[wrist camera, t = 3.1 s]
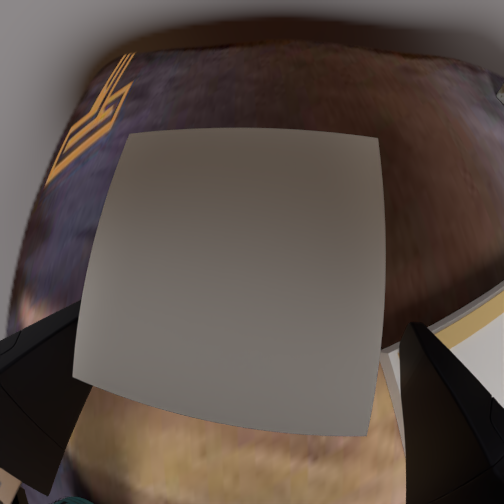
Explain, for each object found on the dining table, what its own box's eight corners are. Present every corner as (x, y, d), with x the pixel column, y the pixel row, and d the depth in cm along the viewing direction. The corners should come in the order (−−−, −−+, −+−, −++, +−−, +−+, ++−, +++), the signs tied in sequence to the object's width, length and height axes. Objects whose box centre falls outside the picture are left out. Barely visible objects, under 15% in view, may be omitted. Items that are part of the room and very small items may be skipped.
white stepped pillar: (316, 371, 15) (397, 470, 3) (218, 359, 16) (48, 397, 4) (326, 274, 17) (404, 117, 4) (231, 265, 17) (116, 114, 5)
